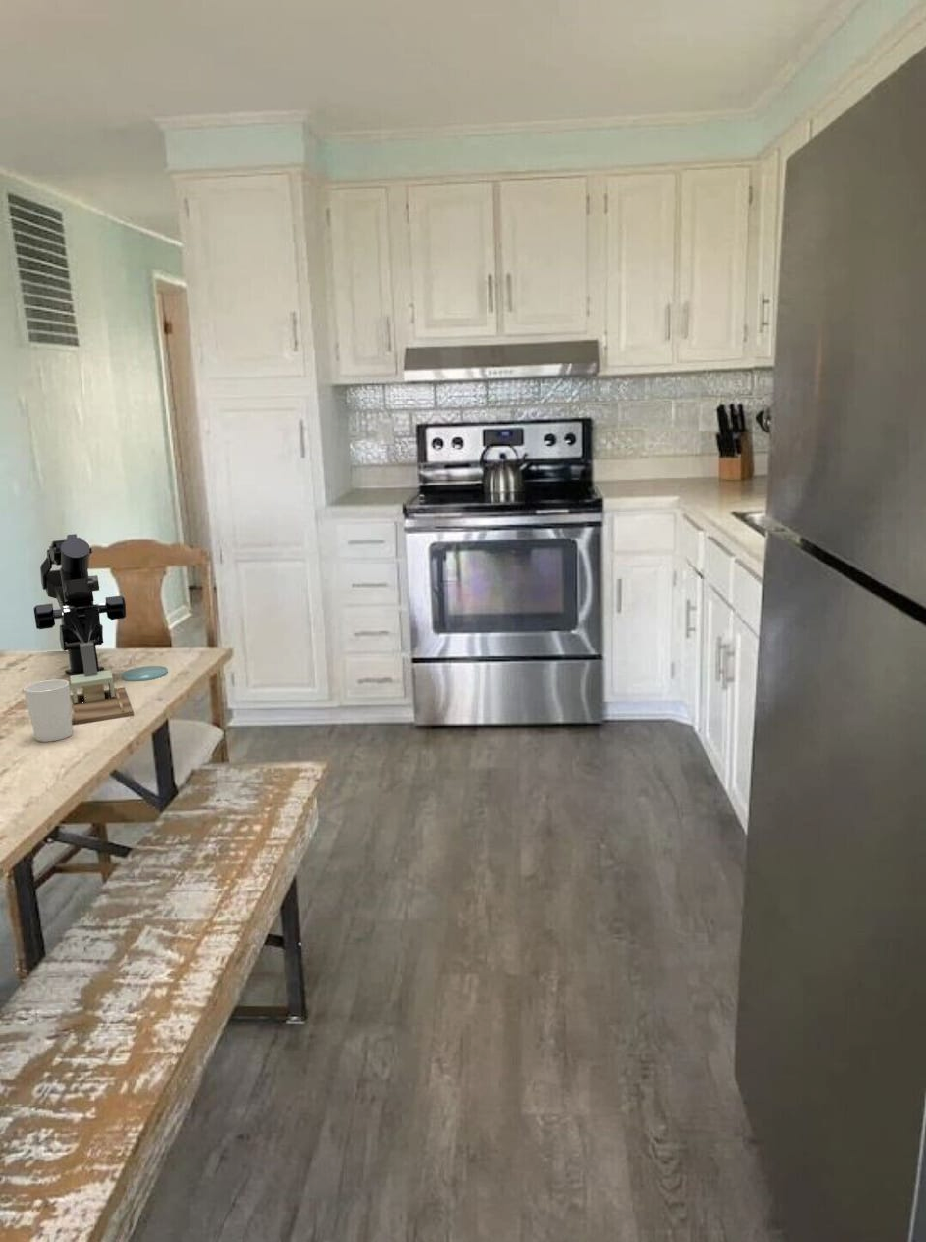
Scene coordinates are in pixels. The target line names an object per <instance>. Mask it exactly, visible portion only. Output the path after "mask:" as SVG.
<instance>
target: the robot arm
mask: <svg viewBox="0 0 926 1242" xmlns="http://www.w3.org/2000/svg"><path fill="white" fill-rule="evenodd" d="M91 554H93V552H92V547H90V544H89V543H88V542H87V541H86V540H85V539H83V538H81V537H78V535H77V533H75V534H68V535H67V536H66V539H56V540H52V541H51V544H50V545H49V548H48V549H46V558H45V560H44V561H43V563H41V565H40V567H39V568H40V571H39V572H40V581H41V589H42V590H43V591H45V593H46V595H47V596H48V597H49V598H53V599H56V600H57V602H58V604H59V605H58V606H59V608H60V609H58V608H57V609H54V605H53V603H45V604H38V605H37V604H36V605H35V606H34V607H33V616H34V622H35V627H36V629H37V630H44V629H51V628H53V627H54V626H56V620H61V624H60V625H59V642H60V647H61V648H62V650H63V651H64V652H65V651H68V656H69V665H70V669H67V670H65V671H64V673H65V674H69V675H72V676H73V675H80V674H84V670H83V662H82V655H81V648H80V644H84V643H91V642H93V646H94V653H95V660H96V668H97V672H101V671H105V666H104V667H103V666H99V659H98V654H97V649H96V646H102V645H103V644H104V638H103V637H104V635H103V630H104V629H103V627H104V626H103V624H102V623H101V621H100V620H101V619H100V614H105V613H106V618H107V619H108V620H110V621H115V620H117V621H118V620H123V619H125V618H126V617H127V604H126V599H125V597H124V596H123V595H115V596H106V597H104V599H105V603H104V602H103V603H96V604H94V601H95V600H94V594H93V592H98V591H99V592H100V586H99V577H98V574H96V575H95V574H94V575H89V572H88V569H89V565H90V556H91ZM54 565H55V566H57V567H58V566H60V568H59V569H52V568H53V566H54Z"/></svg>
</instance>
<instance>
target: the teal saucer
mask: <svg viewBox="0 0 926 1242" xmlns="http://www.w3.org/2000/svg"><path fill="white" fill-rule="evenodd" d="M168 674H169V671H168V667H166V666H161V665H147V666H140V667H135V668H131V669H128V670H125V671H124V672H122V673H121V677H122V680H124V681H127V682H143V681H144V682H147V681H150V680H157V679H159V677H160V678H163V677H165V676H166V675H168ZM162 676H163V677H162ZM156 678H157V679H156Z"/></svg>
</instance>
